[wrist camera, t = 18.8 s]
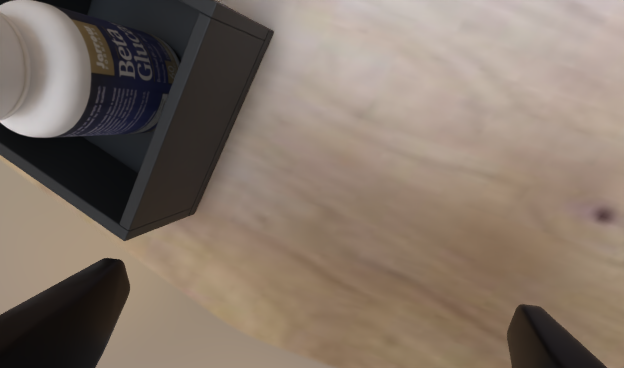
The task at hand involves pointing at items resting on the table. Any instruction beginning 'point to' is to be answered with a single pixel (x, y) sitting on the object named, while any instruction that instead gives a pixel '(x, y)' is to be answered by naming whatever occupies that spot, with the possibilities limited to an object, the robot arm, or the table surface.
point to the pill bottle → (79, 73)
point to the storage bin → (171, 125)
